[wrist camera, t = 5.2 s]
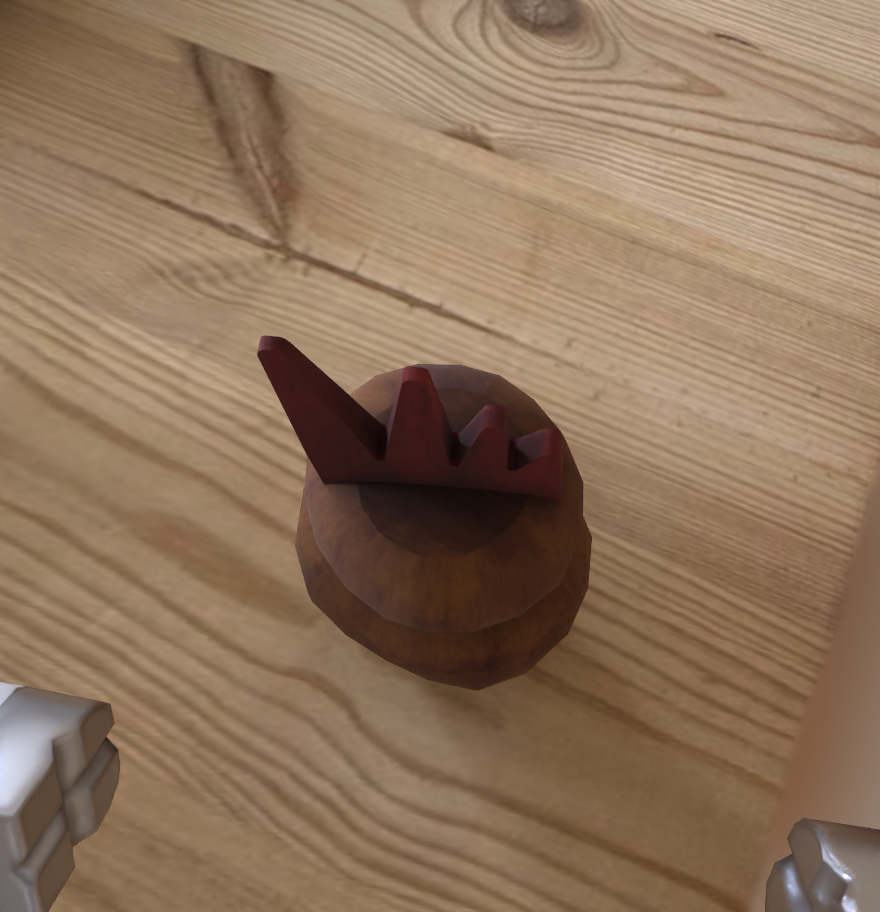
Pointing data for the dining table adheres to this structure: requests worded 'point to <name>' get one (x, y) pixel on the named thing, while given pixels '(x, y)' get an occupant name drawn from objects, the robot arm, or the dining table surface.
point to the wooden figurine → (436, 516)
